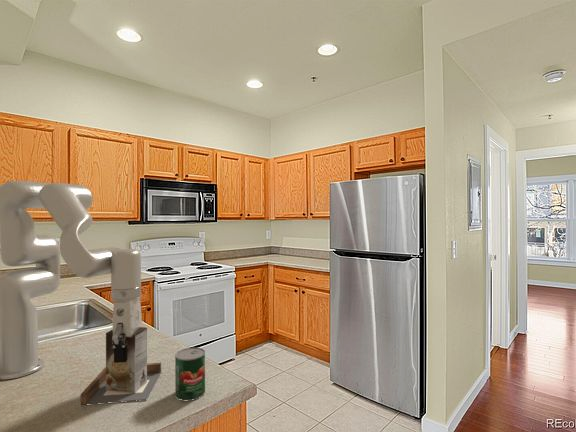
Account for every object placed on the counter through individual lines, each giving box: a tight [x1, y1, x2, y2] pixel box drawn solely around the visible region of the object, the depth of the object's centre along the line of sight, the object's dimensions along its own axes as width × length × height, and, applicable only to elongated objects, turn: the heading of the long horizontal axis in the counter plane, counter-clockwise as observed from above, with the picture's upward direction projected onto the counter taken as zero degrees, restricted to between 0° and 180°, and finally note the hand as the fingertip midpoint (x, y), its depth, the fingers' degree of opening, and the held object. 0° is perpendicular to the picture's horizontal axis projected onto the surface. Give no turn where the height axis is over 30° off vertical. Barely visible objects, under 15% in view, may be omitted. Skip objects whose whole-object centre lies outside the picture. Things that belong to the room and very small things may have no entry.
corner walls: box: [80, 362, 162, 406], centre depth 94 cm, size 16×16×3 cm
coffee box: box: [105, 326, 148, 393], centre depth 94 cm, size 9×6×16 cm
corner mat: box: [85, 371, 162, 406], centre depth 94 cm, size 16×16×1 cm
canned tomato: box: [174, 347, 206, 400], centre depth 91 cm, size 8×8×11 cm
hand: (127, 354), depth 94 cm, fingers open, 9 cm apart
